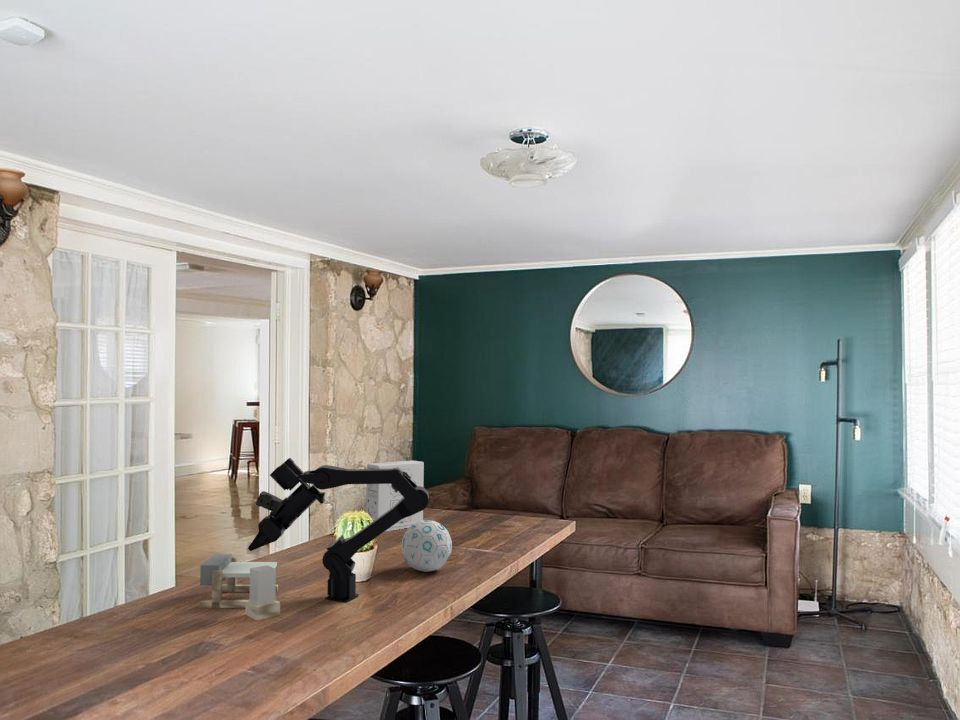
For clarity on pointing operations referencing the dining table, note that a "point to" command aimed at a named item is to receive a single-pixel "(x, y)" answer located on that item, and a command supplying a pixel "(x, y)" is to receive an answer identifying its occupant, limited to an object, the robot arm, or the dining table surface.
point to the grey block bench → (219, 588)
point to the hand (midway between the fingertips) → (253, 545)
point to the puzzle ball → (426, 545)
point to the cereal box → (393, 492)
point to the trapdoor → (227, 568)
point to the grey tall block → (262, 585)
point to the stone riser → (262, 610)
